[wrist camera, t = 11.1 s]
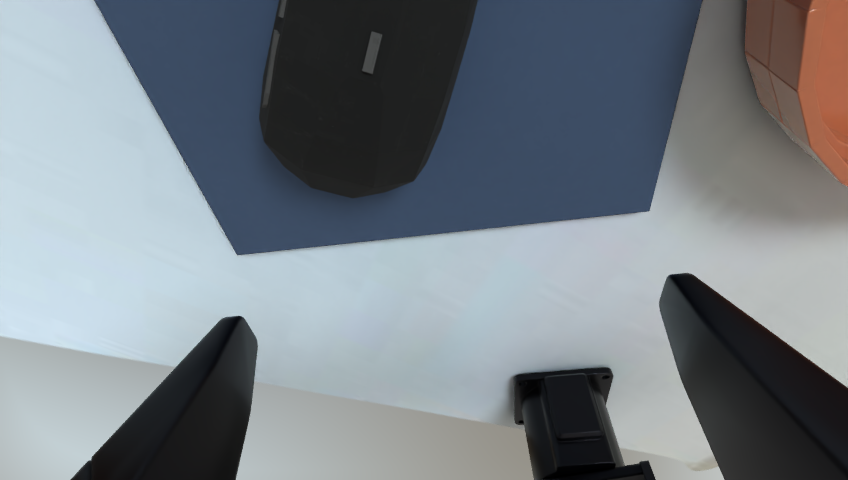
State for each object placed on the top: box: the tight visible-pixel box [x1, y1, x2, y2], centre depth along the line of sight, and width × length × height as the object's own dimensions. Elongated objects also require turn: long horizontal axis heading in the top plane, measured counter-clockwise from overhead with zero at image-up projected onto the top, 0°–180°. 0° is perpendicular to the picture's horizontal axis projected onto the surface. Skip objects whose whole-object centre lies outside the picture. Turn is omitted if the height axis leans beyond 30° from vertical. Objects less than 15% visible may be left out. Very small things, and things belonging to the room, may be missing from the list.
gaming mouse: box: [259, 0, 478, 198], centre depth 14 cm, size 6×15×4 cm, turn 161°
